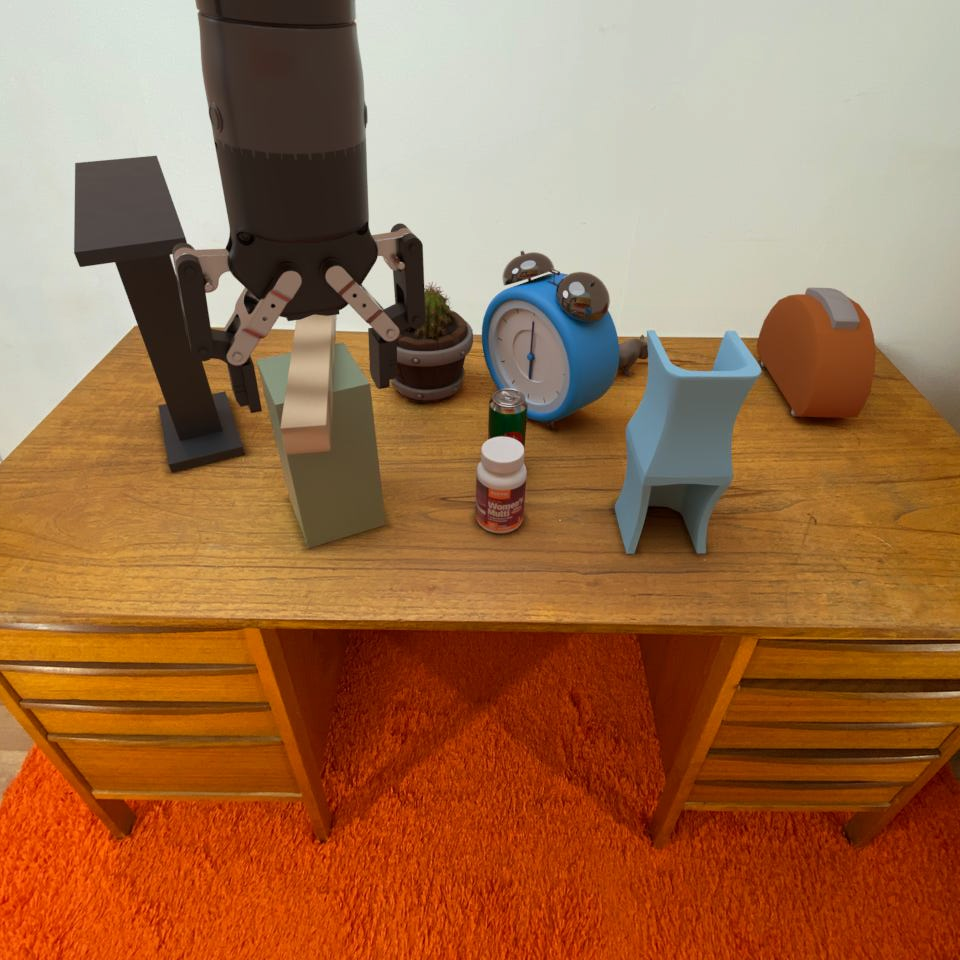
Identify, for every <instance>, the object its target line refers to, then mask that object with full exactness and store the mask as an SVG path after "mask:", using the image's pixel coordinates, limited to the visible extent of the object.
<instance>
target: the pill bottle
mask: <svg viewBox="0 0 960 960" xmlns="http://www.w3.org/2000/svg"><path fill="white" fill-rule="evenodd" d="M475 475H476V479H475V519H476V521H477V523H478V525H479V526H480V527H481V528H482V529H483V530H485V531H487V532H489V533H493V534H507V533H511V532H514V531H515V530H517V529H519V527H520V526H521V524H522V523H523V521H524V514H525V501H526V492H527V491H526V489H527V478H528V471H527V466H526V465H525V449H524V447H523V445H522V444H521V443H520V442H519V441H518V440H516V439H513V438H510V437H494V438H491V439H489V440H488V439H487V440H486V441H485V442H484V443H483V444H482V446H481V449H480V461H479V463H478V464H477V467H476V473H475Z"/></svg>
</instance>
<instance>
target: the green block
mask: <svg viewBox="0 0 960 960" xmlns="http://www.w3.org/2000/svg"><path fill="white" fill-rule="evenodd" d="M291 353H292V351H291V352H287V353H281V354H278V355H272V356H266V357H262V358H257V359H256V365H257V369H258V373H259V378H260V382H261V386H262V390H263V394H264V398H265V402H266V406H267V411H268V415H269V418H270V423H271V427H272V431H273V436H274V440H275V444H276V449H277V452H278V456H279V461H280V463H281V464H280V465H281V470H282V472H283V473H282V474H283V478H284V481H285V486H286V489H287V493H288V498H289V501H290V504H291V507H292V510H293V512H294V514H295V518H296V520H297V523H298V526H299V528H300V531H301V533H302V536H303V539H304V542H305V544H306V548H307V549H308V550H309V549H311V548H315V547H318V546H322V545H325V544H327V543H332V542H334V541H337V540H341V539H345V538H349V537H350V536H354V535H358V534H360V533H363V532H366V531H370V530H373V529H376V528H380V527H383V526H386V525H387V523H386V512H385V506H384V495H383V486H382V479H381V469H380V461H379V451H378V444H377V443H378V442H377V433H376V424H375V416H374V408H373V398H372V389H371V383H370V381H369V380H368V378H367V377H366V375H365V373H364V372H363V371H362V369H361V367H360V366H359V364H358V363H357V361H356V360H355V358H354V356H353V355H352V353H351V352H350V350H349V348H348V347H347V345H346V344H345V343H344V342H343V341H341V342H335V363H334V386H333V409H332V432H331V451H326V452H313V453H301V454H288V455H287V454H286V451H285V447H284V442H283V438H282V434H281V429H280V427H281V420H282V414H283V407H284V400H285V393H286V386H287V380H288V373H289V366H290V359H291Z"/></svg>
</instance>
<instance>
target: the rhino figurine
mask: <svg viewBox="0 0 960 960" xmlns="http://www.w3.org/2000/svg"><path fill="white" fill-rule="evenodd" d="M644 339H645V335H644V334H641V336H639V338H637V337H636V338H630V339H627V340H626V341H622V342H620V343H619V365H618V370H622V374H623V375H625V376H627V377H630V376H631V375H632V372H631V370H630V368H631V367H633V365H634V364H635V363H636V362H637V361H638V359H639V360H648V345H647V341H645V340H644Z"/></svg>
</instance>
